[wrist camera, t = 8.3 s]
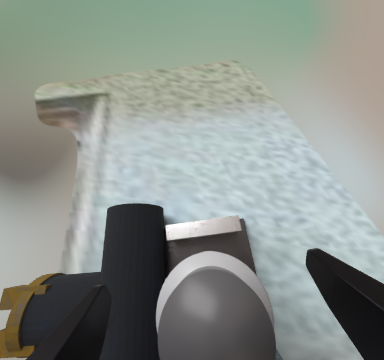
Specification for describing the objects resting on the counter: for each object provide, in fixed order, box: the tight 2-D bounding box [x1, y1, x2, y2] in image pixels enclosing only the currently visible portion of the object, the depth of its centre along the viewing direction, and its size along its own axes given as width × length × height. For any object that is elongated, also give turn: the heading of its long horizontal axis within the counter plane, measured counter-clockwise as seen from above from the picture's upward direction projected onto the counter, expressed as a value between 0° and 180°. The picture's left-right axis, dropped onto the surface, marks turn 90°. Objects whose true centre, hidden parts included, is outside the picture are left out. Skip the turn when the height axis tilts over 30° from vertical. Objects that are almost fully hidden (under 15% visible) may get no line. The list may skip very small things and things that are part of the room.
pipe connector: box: [0, 204, 165, 360], centre depth 14 cm, size 12×5×15 cm
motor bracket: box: [164, 215, 283, 360], centre depth 13 cm, size 15×8×5 cm, turn 7°
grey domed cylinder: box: [156, 251, 276, 360], centre depth 11 cm, size 5×5×11 cm
